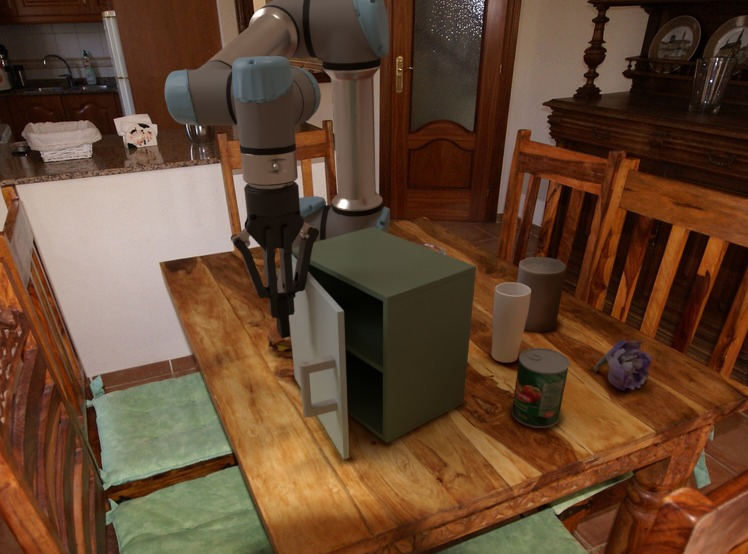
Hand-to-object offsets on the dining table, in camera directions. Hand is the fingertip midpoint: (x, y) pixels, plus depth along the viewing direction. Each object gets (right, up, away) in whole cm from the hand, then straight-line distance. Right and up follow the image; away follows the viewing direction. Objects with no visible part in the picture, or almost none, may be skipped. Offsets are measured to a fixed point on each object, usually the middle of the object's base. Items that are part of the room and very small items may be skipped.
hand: (283, 333), depth 91 cm
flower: (+60, -8, +16) cm, 63 cm away
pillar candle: (+52, +4, +37) cm, 64 cm away
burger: (-2, -2, +30) cm, 31 cm away
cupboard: (+16, -10, +16) cm, 24 cm away
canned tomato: (+42, -14, +8) cm, 45 cm away
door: (+3, -14, +8) cm, 17 cm away
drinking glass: (+42, -4, +25) cm, 48 cm away
